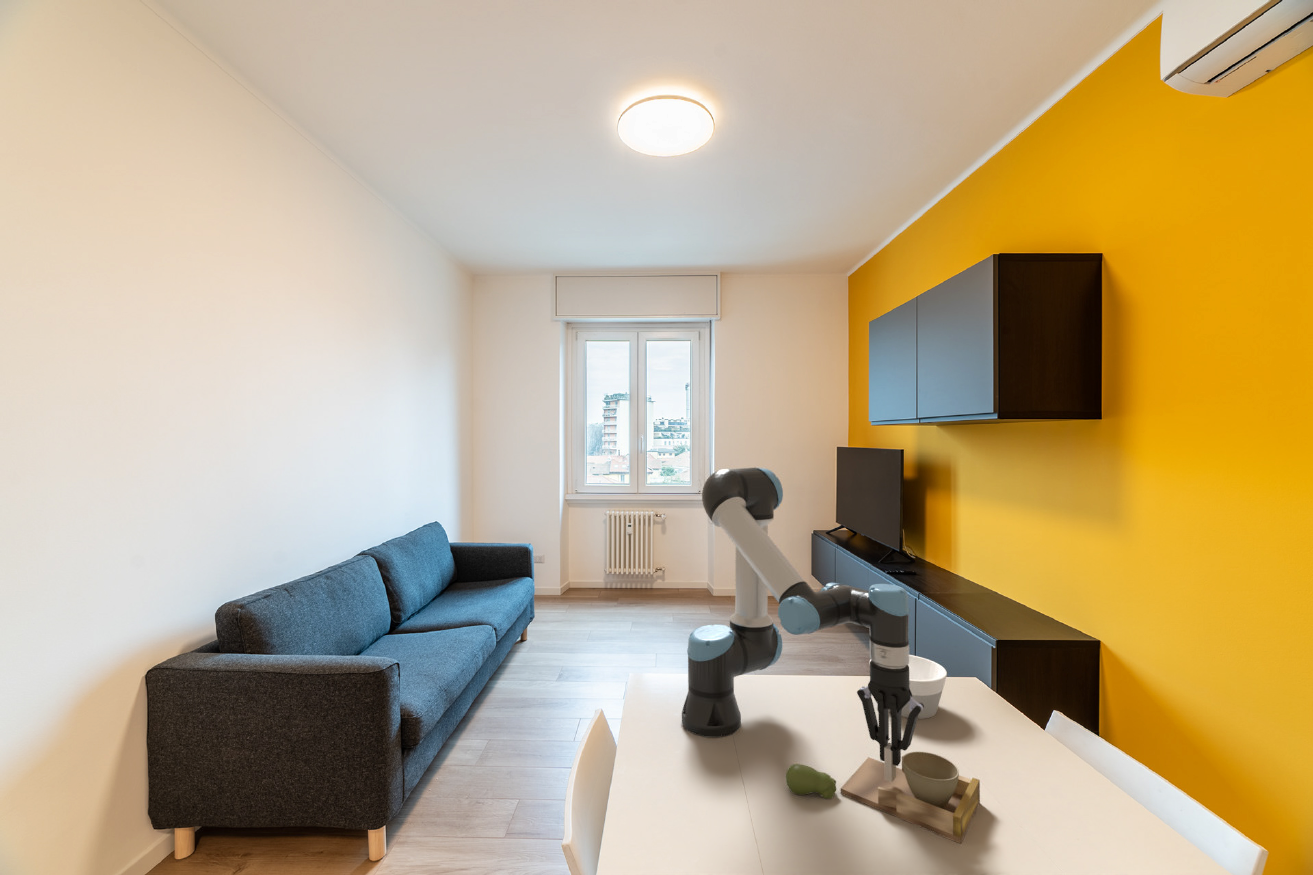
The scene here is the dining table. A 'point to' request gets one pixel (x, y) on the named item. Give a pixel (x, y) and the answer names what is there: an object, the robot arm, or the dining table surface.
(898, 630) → the robot arm
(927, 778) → the flower pot
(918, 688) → the bowl
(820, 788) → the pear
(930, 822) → the slot board
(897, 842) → the dining table surface
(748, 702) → the dining table surface
